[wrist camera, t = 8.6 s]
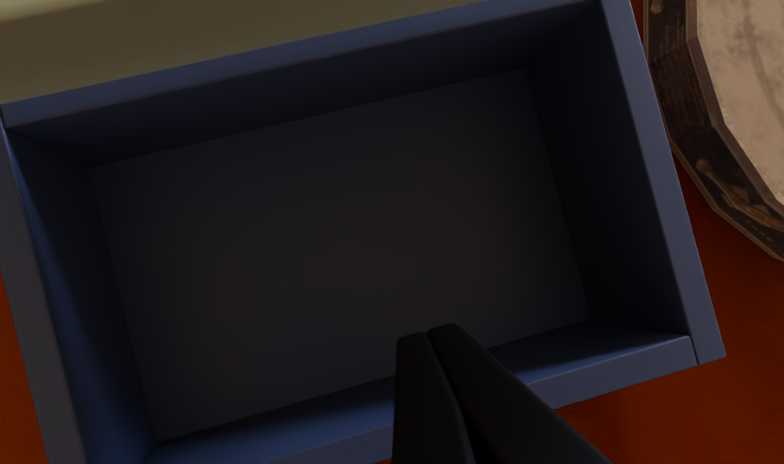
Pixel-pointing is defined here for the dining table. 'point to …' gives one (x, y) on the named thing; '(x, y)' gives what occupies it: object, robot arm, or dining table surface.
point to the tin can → (724, 104)
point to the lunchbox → (345, 233)
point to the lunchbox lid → (162, 34)
